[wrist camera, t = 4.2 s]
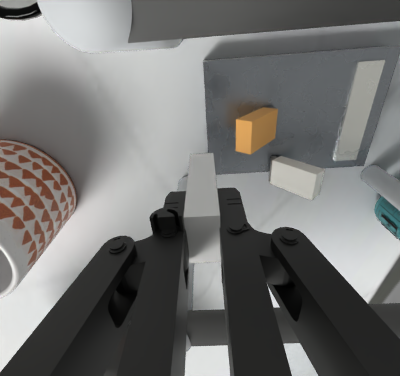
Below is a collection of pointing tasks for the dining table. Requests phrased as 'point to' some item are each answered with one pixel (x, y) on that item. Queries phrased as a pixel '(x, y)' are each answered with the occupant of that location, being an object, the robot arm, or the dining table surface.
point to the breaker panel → (299, 105)
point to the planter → (29, 208)
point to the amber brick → (256, 129)
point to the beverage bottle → (388, 216)
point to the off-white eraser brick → (296, 177)
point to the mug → (19, 9)
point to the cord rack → (205, 27)
